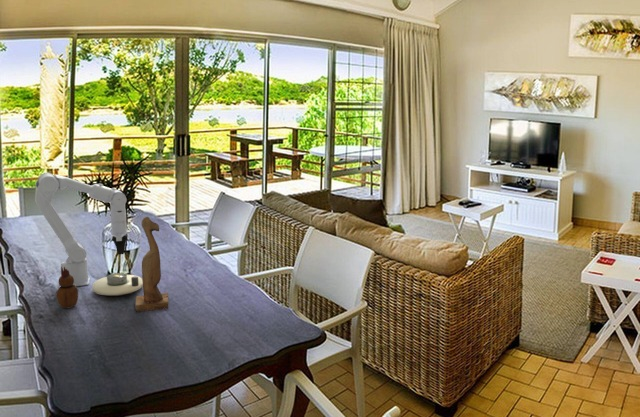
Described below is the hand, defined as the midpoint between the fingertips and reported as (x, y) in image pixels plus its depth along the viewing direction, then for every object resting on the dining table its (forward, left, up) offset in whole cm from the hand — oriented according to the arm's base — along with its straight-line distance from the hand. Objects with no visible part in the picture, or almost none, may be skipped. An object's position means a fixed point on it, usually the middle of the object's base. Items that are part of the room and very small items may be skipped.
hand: (120, 253), depth 230 cm
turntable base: (-1, -15, -9) cm, 18 cm away
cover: (-1, -15, -7) cm, 16 cm away
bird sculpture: (+11, -34, -10) cm, 37 cm away
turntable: (-1, -15, -9) cm, 18 cm away
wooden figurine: (-17, -28, -10) cm, 34 cm away
